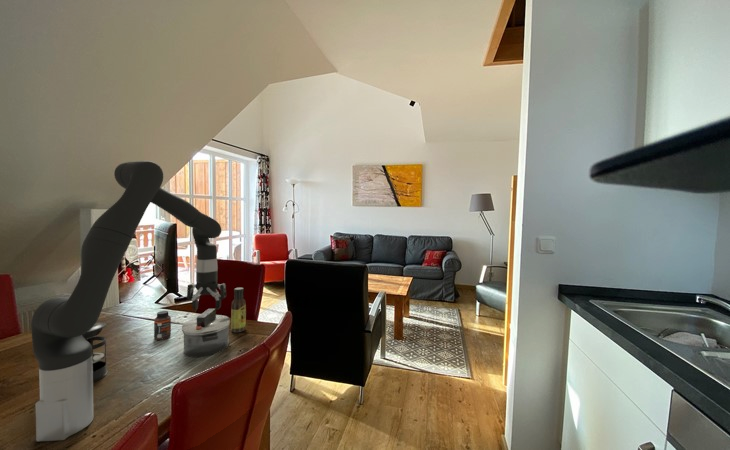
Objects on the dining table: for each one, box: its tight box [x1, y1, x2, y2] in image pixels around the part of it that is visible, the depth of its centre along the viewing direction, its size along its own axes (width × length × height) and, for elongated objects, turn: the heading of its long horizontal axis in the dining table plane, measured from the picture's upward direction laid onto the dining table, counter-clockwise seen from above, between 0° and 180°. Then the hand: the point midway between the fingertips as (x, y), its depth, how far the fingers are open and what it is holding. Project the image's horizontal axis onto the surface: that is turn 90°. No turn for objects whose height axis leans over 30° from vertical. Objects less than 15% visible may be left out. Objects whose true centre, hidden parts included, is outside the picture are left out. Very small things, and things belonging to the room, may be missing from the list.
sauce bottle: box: [230, 287, 247, 333], centre depth 131 cm, size 6×6×20 cm
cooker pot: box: [182, 322, 231, 358], centre depth 114 cm, size 22×17×9 cm
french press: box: [82, 321, 109, 383], centre depth 91 cm, size 12×9×23 cm
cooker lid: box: [181, 308, 231, 334], centre depth 114 cm, size 17×17×5 cm
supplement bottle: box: [153, 310, 172, 341], centre depth 122 cm, size 6×6×11 cm
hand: (206, 309), depth 114 cm, fingers open, 8 cm apart
